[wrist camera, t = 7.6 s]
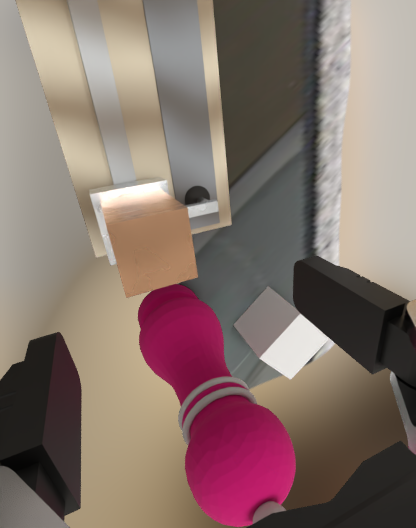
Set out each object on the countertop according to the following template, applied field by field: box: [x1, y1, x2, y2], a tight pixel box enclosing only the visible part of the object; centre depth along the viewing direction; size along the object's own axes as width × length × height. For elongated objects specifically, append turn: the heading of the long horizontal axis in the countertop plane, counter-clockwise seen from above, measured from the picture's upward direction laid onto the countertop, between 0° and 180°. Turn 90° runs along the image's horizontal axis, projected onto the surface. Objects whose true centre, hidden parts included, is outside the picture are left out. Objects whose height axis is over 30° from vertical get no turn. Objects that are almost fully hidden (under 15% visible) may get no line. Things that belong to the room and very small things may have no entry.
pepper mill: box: [138, 284, 295, 527], centre depth 21 cm, size 7×7×20 cm
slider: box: [89, 177, 219, 298], centre depth 19 cm, size 5×8×8 cm, turn 97°
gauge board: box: [15, 0, 232, 257], centre depth 19 cm, size 20×12×8 cm, turn 7°
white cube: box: [234, 286, 328, 379], centre depth 32 cm, size 6×6×6 cm
